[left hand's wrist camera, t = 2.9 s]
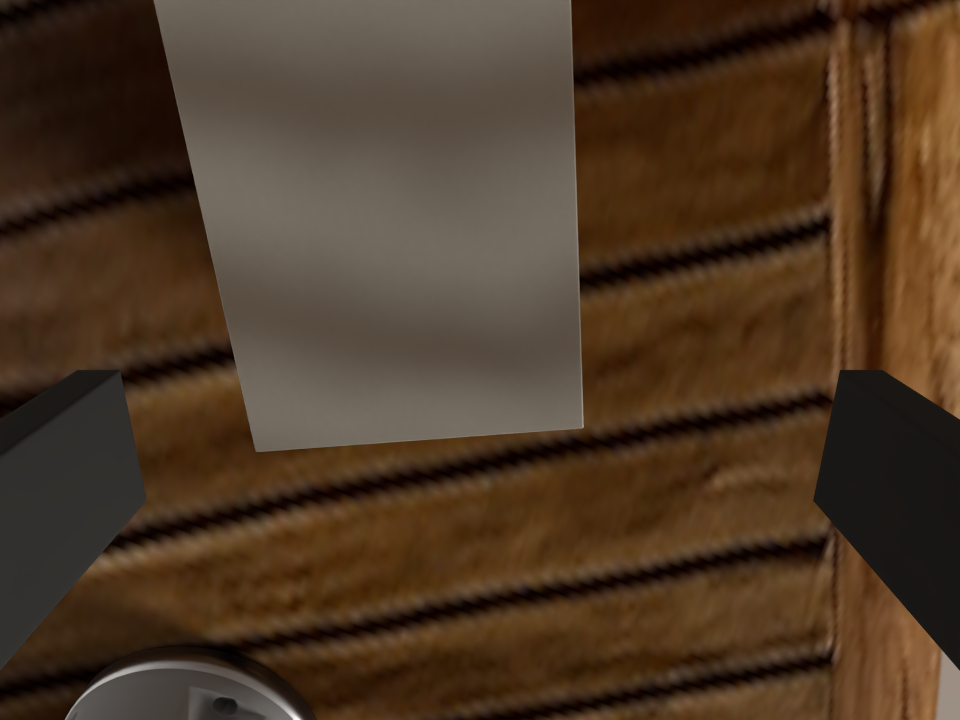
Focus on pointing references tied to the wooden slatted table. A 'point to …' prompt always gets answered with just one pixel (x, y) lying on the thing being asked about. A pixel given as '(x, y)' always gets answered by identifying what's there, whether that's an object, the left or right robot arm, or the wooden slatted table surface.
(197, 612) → the wooden slatted table surface
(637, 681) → the wooden slatted table surface
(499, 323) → the cabinet
